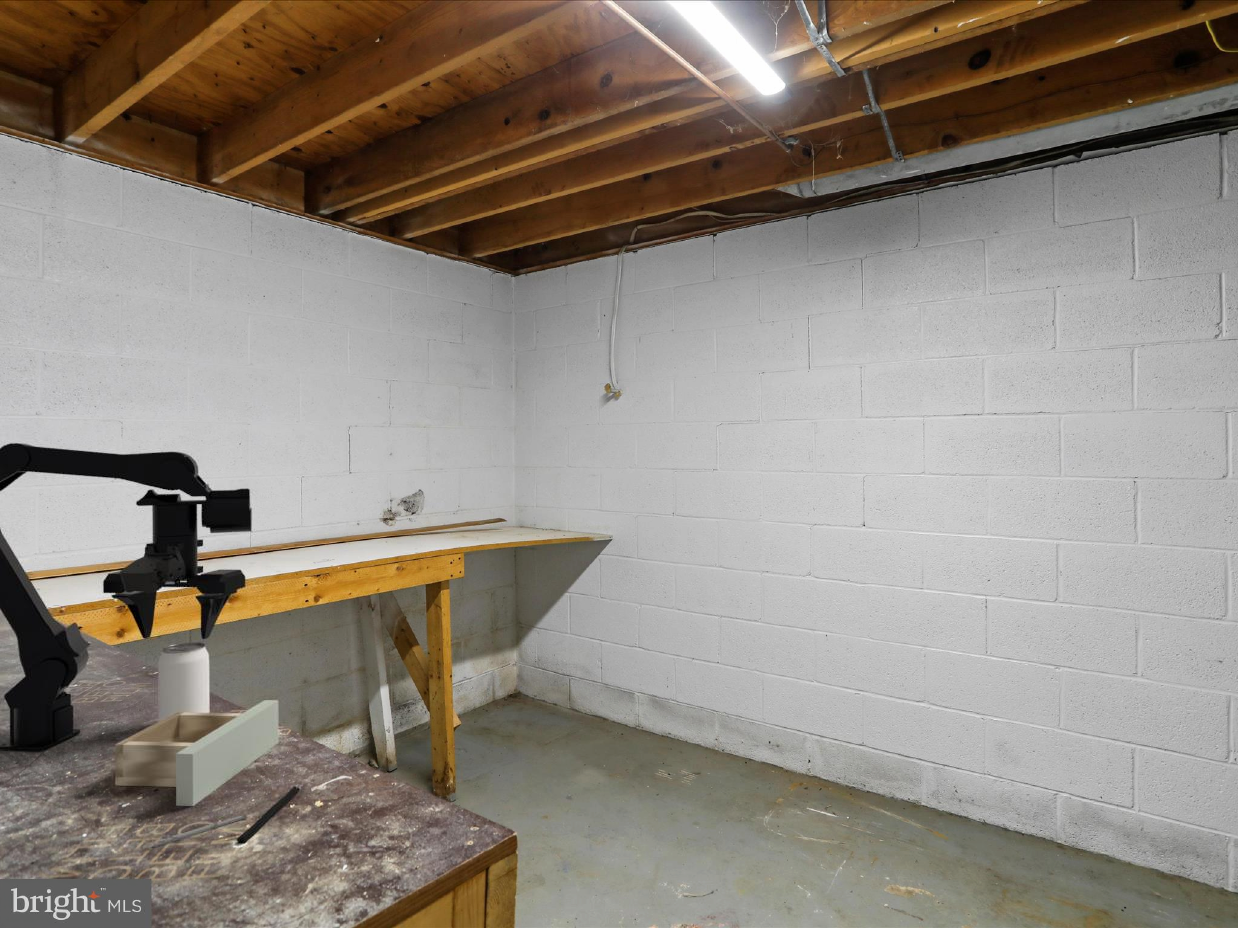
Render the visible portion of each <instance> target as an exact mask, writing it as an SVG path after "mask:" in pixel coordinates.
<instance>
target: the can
mask: <svg viewBox="0 0 1238 928" xmlns="http://www.w3.org/2000/svg"><path fill="white" fill-rule="evenodd" d="M206 646H207V645H206V643H205V642H199V641H196V642H195V641H194V642H193V641H191V642H182V643H176V644H171V645H168V646H164V647H163V648H162V649H161V655H160V657H159V659H158V663H157V669H158V670H157V682H158V683H157V691H158V692H157V693H158V694H157V699H158V701H157V708H158V709H157V710H158V711H157V715H158V721H157V723H158V722H159V721H161V720H163V719H165V718H167V717H169V716H171V715H173V714H175V713H177V712H190V713H210V653H209V652H208V650H207V649H206Z"/></svg>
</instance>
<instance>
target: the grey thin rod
mask: <svg viewBox="0 0 1238 928" xmlns="http://www.w3.org/2000/svg"><path fill="white" fill-rule="evenodd" d="M247 814H248V813H247V812H246V811H243V813H242V814H241V815H239V816H235V817H233V818H230V819H226V820H223V821H220V822H217V821H215V822H214V823H212V824H208V825H205V826H202V827H199V828H196V829H192V830H189V831H186V832H183V833H180V834H175V835H172V836H170V837H168V838H162V839H159V840H157V841H154V842H153V843H152V844H153V848H157V847H161V846H164V845H167V844H171V843H174V842H177V841H180V840H183V839H186V838H189V837H192V836H196V835H198V834H199V835H200V834H202V833H205V832H208V831H212V830H215V829H218V828H220V827H223V826H225V825H230V824H232V823H236V822H239V821H241V820H242V821H243V820H244V821H245V820H248V815H247Z"/></svg>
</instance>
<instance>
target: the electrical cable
mask: <svg viewBox="0 0 1238 928" xmlns="http://www.w3.org/2000/svg"><path fill="white" fill-rule="evenodd" d="M302 787H303V784H296V785H294V786H293V787H292V788H291V789H290V790H289V791H288V792H287V793H286V794H285V795H284V796H283V797H282V798H280V799H279V800H278V801H277V802H276V803H275V804H273V805H272V806H271V807H270V808H269V809H267V811H265V812H264V813H263V814H262V815H261V816H260V817H259V818H258V819H257V820H256V821H255V822H254V823H253V825H251V826H250V827H249V828H248V829H247V830H245V831H244V832H242V834H241V835H239V837H237V838H236V842H237V844H239V845H240V844H241V845H242V844H244V845H245V844H246V843H248V842H249V840H250V839H252V838H253V837H254V836H255V834H256V833H258V831H259V830H260V829H261V828H262V827H263V826H264V825H265V824H266V823H267V822H268V821H269V820H271V818H272V819H273V817H275V815H277V814H278V813H279V812H280V811H281V810H283V808H285V807H286V805H288V803H289V802H291V800H292V799H293V798H294V797H296V795H297V794H298V793H299V791H300V790H302Z"/></svg>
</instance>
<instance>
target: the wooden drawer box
mask: <svg viewBox="0 0 1238 928" xmlns="http://www.w3.org/2000/svg"><path fill="white" fill-rule="evenodd" d="M243 713H244V712H241V713H237V712H235V713H234V712H209V713H190V712H177V713H175V714H173V715H171V716H169V717H167V718H165V719H163V720H161V721H159V722H158V721H157V722H155V723H154V724H152V725H150V726H148V727H146V728H144V729H142V730H140V731H139V732H137V733H135V734H133V735H131V736H129V737H127V738H125V739H123V740H121V741H119V742H117V743H116V744H114V754H115V756H114V757H115V759H114V760H115V761H114V762H115V764H114V765H115V767H114V769H115V771H114V772H115V774H114V777H115V781H114V782H115V786H122V787H123V786H125V787H126V786H127V787H129V786H132V787H133V786H134V787H135V786H136V787H164V788H165V787H167V788H168V787H169V788H170V787H171V788H173V787H174V788H176V753H178V752H180V751H181V750H183V749H185V748H186V747H188V746H190V745H191V744H193V743H195V742H196V741H198V740H200V739H201V738H203V737H204V736H206V735H208V734H209V733H211V732H213V731H214V730H216V729H218V728H219V727H221V726H223V725H224V724H226V723H228V722H229V721H231V720H233V719H234V718H236V717H238V716H239V715H241V714H243Z"/></svg>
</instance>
